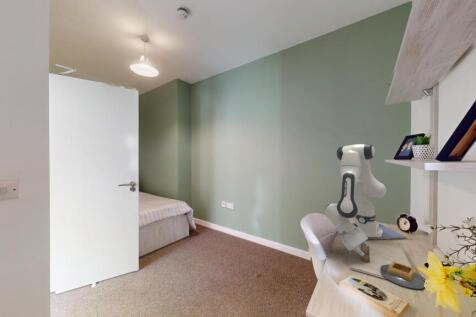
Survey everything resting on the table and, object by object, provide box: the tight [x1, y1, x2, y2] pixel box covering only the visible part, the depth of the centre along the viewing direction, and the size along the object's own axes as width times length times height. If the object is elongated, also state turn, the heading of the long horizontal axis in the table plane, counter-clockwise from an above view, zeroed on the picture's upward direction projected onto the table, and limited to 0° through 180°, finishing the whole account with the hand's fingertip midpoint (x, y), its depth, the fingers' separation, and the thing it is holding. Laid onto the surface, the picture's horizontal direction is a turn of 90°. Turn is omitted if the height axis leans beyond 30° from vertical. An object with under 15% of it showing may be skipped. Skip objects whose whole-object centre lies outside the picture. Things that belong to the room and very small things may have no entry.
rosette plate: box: [379, 260, 426, 291], centre depth 85 cm, size 16×16×4 cm
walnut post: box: [360, 243, 371, 263], centre depth 100 cm, size 4×4×8 cm
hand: (366, 252), depth 99 cm, fingers open, 7 cm apart
